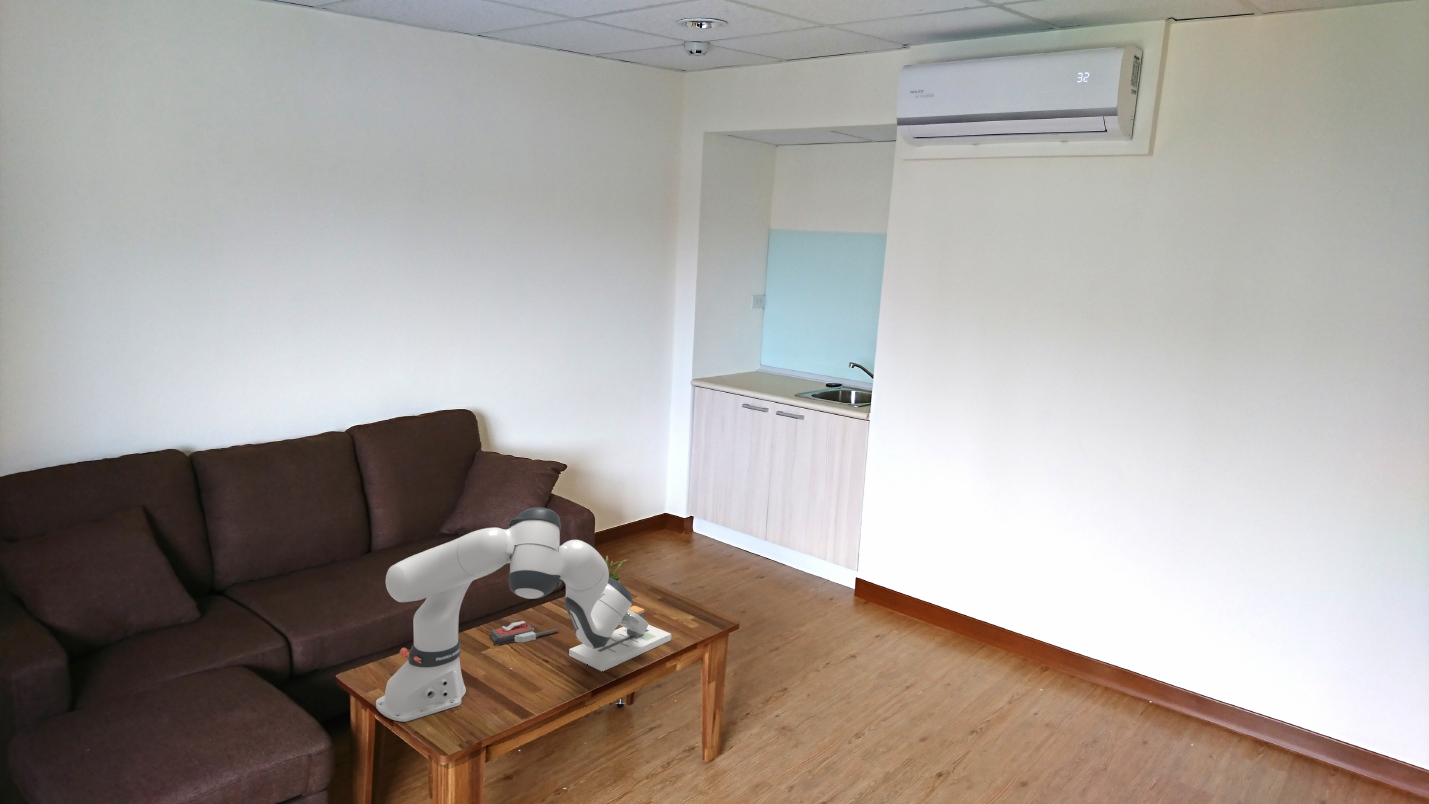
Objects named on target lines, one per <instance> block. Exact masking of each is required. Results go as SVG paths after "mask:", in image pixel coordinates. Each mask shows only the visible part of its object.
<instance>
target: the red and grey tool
mask: <svg viewBox="0 0 1429 804" xmlns="http://www.w3.org/2000/svg"><path fill="white" fill-rule="evenodd" d="M534 631H535V629H534V627H533V626H532V625H531V624H529V623H527V622H526V621H524V620H520V621H515V622H511V623H510V624H509V625H508V626H506V625H505V626H504V625H502V626H501V627H500V628H495V629H491V630H490V639H491V640H492V641H493V644H494V645H497V646H501V644H502V645H505V644H509V642H510V643H513V641H514V643H527V642H532V641H535V640H537V638H539V637H541V636H546V635H549V634H551V633H554V632H558V631H559V628H557V627H556V628H553V629H548V630H545V631H540V632H534Z"/></svg>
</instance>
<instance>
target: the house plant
mask: <svg viewBox="0 0 1429 804" xmlns="http://www.w3.org/2000/svg"><path fill="white" fill-rule="evenodd" d="M628 560H629V559H623V560H621V561H619V562H618V561H615V562H614V563H613V560H611V561H610V565H609V557H608V555H606V557H605V560H604V561H605V562H606V564H607V566H608V567H609V570H608V571H609V578H613V579H615V580H617V581H618V582H620V583H621V580H622V578H620V577H622V575H621V574H617V571H620V570H621V569H622V567H620V566H621V565H622V564H624V562H625V561H628ZM617 563H618V564H617ZM615 564H616V566H615ZM614 566H615V568H614V570H613V567H614ZM619 567H620V569H619ZM612 570H613V572H612Z"/></svg>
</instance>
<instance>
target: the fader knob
mask: <svg viewBox="0 0 1429 804" xmlns="http://www.w3.org/2000/svg"><path fill="white" fill-rule="evenodd" d="M629 610H630V611H633V612H634V613H636V614H638V615H639V616H640V617H641V618H643V619H644V620H645V618H644V617H645V609H644V608H642V607H639V606H636V605H631V606H630V608H629ZM627 634H628V635H630V636H633V637H635V638H638V637H640V636H642V635H644V633H643V634H640V633H637V632H635V631H631V630H629V629H627Z"/></svg>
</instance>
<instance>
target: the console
mask: <svg viewBox="0 0 1429 804" xmlns="http://www.w3.org/2000/svg"><path fill="white" fill-rule="evenodd" d="M670 641H672V633H670V632H668V631H666V630H663V629H660V628H658V627H655V626H653V625H651V624H649V623H648V627H647V629H646V630H645V632H644V635H642V636H640V637H638V638H635V637H633V636H630V635H628V634H627V628H625V627H623V626H621V627H619V628H616V629H615V630H614V632H613V633H612V635H611V636H610V639H609V640H608V642H607V644H606V645H605V646H603V647H600V648H596V649H593V648H590V647H588V646H586V645H584V644H583V643H581V644H579V645H576V646H574V647H571V648H569V650H568V651H569V653H568V655H569V657H572V658H573V659H575V660H577V661H579V662H581V663H583V664H585V665H587V664H588V666H589V667H592V668H594V669H595V670H598V671H599V672H602V671H603V672H604V671H607V670H609V669H611V668H613V667H616V666H617V665H620V664H622V663H624V662H627V661H629V660H631V659H633V658H635V657H637V656H639V655H642V654H643V653H644V654H645V653H646V652H648V651H650V650H653V649H654V648H655V649H656V647H659V646H661V645H664V644H666V643H668V642H670Z"/></svg>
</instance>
